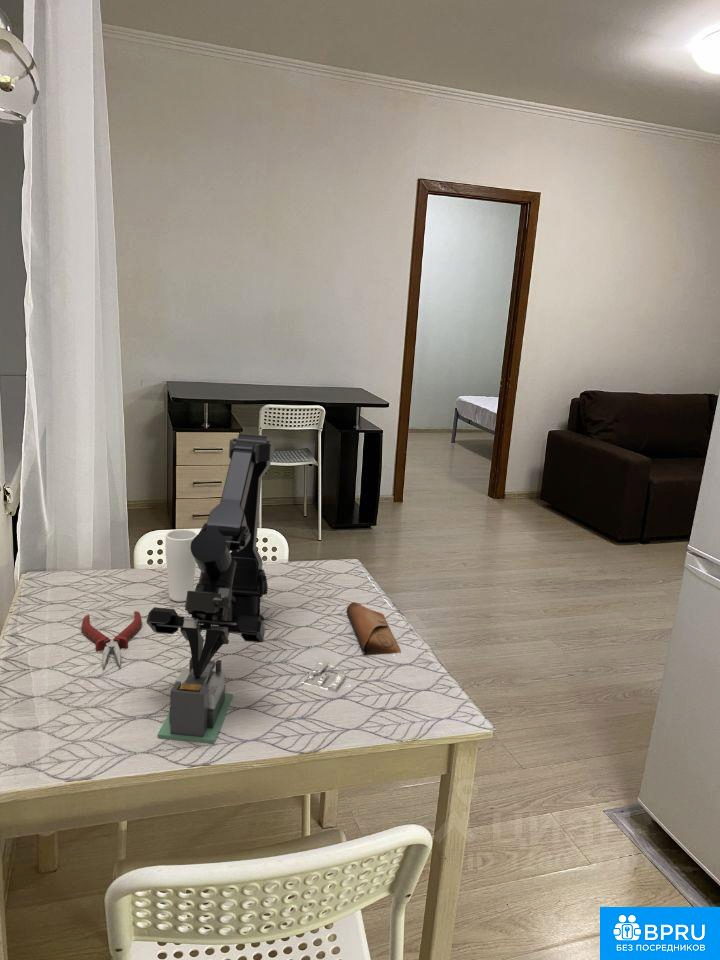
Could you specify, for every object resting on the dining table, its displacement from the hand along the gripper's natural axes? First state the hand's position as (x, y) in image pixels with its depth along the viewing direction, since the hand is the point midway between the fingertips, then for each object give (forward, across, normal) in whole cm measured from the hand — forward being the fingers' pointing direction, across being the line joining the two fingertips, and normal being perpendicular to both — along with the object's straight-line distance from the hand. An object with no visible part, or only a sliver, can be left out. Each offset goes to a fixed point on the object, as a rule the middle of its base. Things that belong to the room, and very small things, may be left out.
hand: (196, 676), depth 114 cm
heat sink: (+4, 0, +6) cm, 7 cm away
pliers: (-9, -24, +21) cm, 34 cm away
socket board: (+5, 0, +6) cm, 8 cm away
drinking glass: (-25, -16, +36) cm, 47 cm away
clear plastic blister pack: (-6, +20, +18) cm, 27 cm away
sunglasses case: (-19, +28, +31) cm, 46 cm away
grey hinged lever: (-3, 0, +4) cm, 6 cm away
